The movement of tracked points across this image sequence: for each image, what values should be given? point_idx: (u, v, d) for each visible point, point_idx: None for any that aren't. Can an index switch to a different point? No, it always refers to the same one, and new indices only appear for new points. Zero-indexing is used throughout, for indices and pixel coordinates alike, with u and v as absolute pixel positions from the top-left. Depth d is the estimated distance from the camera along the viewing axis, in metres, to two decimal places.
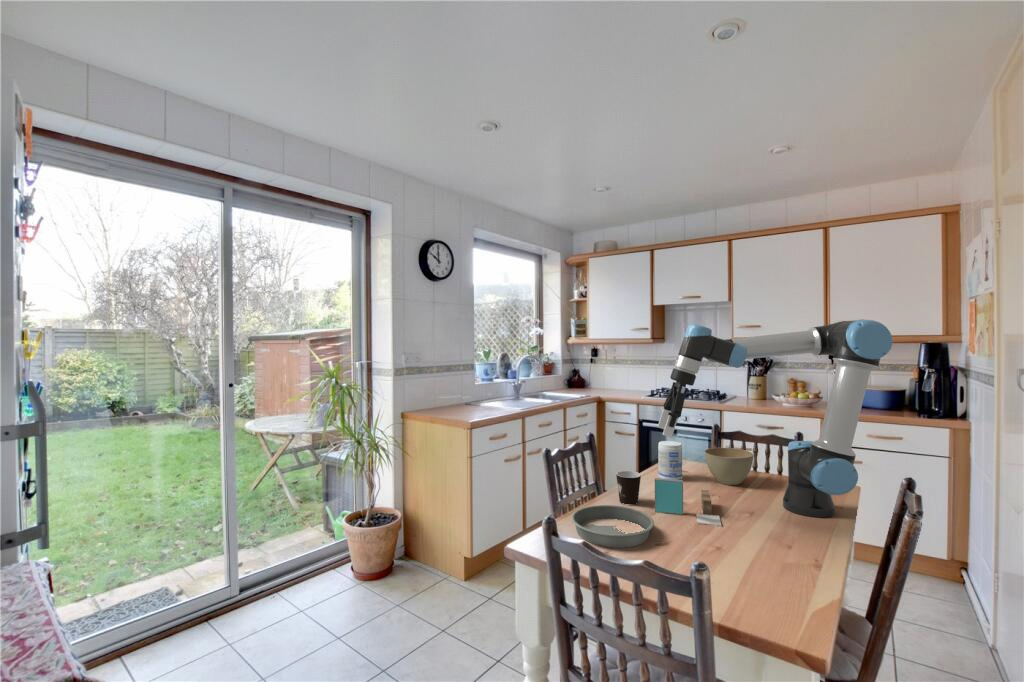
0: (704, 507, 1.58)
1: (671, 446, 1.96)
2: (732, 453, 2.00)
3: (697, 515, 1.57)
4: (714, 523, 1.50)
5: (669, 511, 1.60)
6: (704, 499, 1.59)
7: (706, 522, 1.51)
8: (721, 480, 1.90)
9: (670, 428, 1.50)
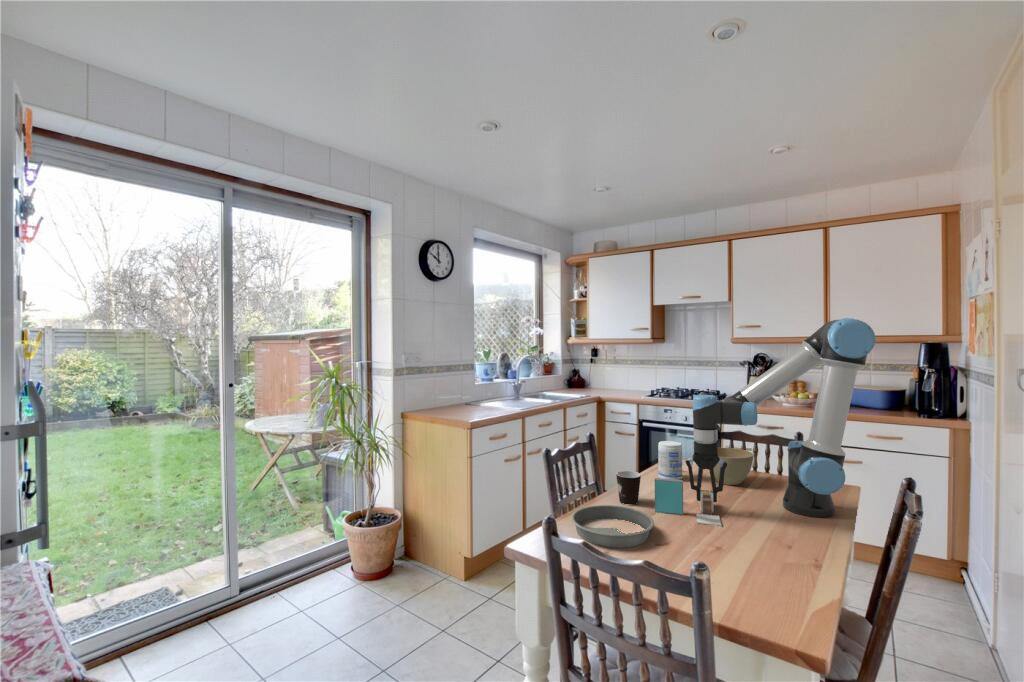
0: (704, 507, 1.58)
1: (671, 446, 1.96)
2: (732, 453, 2.00)
3: (697, 515, 1.57)
4: (714, 523, 1.50)
5: (669, 511, 1.60)
6: (704, 499, 1.59)
7: (706, 522, 1.51)
8: None
9: (700, 502, 1.62)
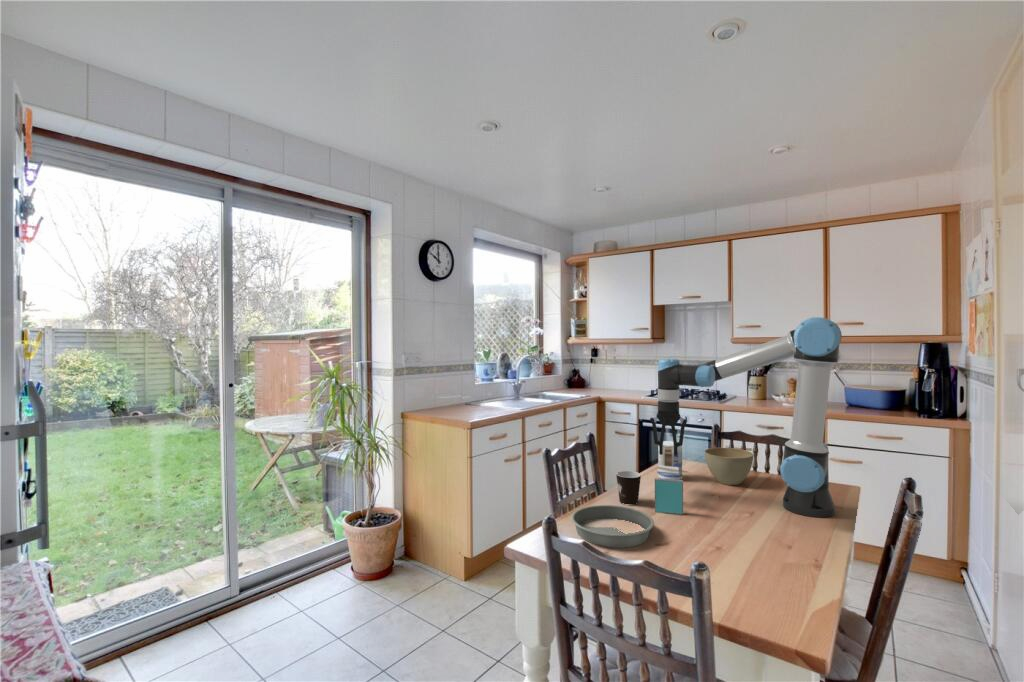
0: (665, 459, 1.74)
1: (671, 446, 1.96)
2: (732, 453, 2.00)
3: (659, 466, 1.73)
4: (672, 472, 1.66)
5: (669, 511, 1.60)
6: (666, 452, 1.75)
7: (665, 471, 1.67)
8: (721, 480, 1.90)
9: None
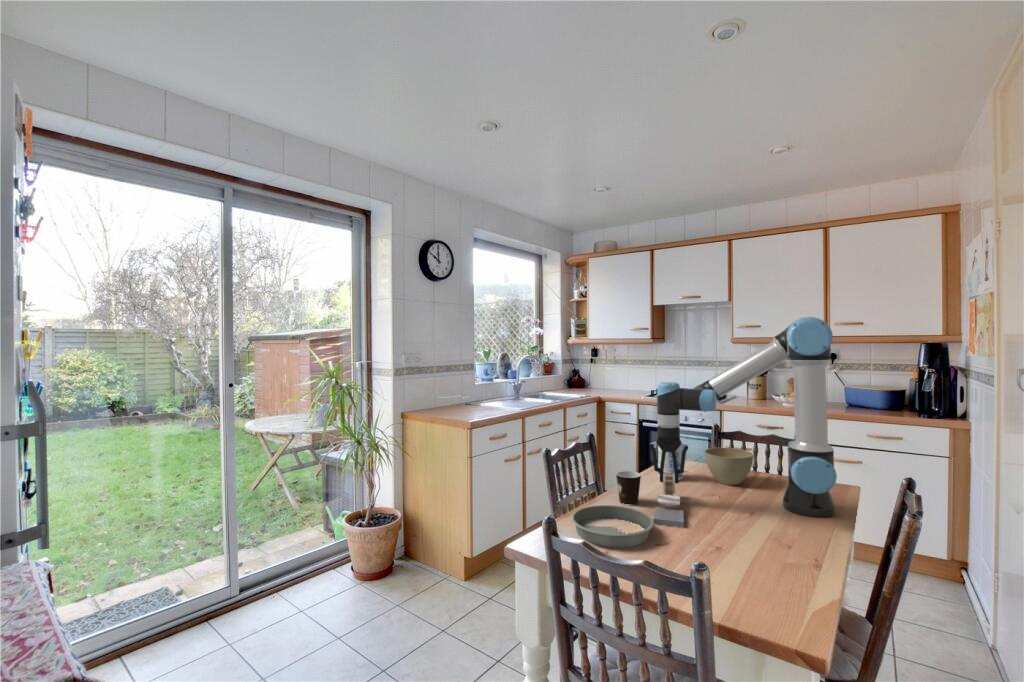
0: (666, 488, 1.67)
1: None
2: (732, 453, 2.00)
3: (659, 495, 1.66)
4: (673, 502, 1.59)
5: None
6: (666, 480, 1.68)
7: (666, 501, 1.60)
8: (721, 480, 1.90)
9: (663, 483, 1.71)
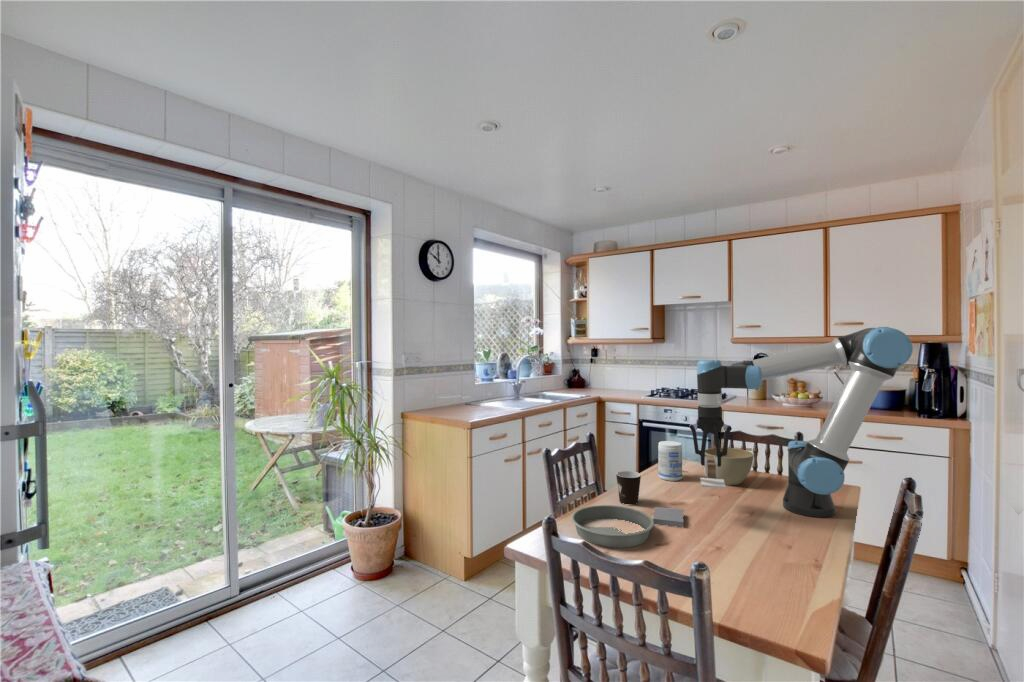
0: (708, 471, 1.57)
1: (671, 446, 1.96)
2: (732, 453, 2.00)
3: (702, 478, 1.57)
4: (718, 485, 1.50)
5: None
6: (708, 463, 1.59)
7: (710, 484, 1.51)
8: None
9: None
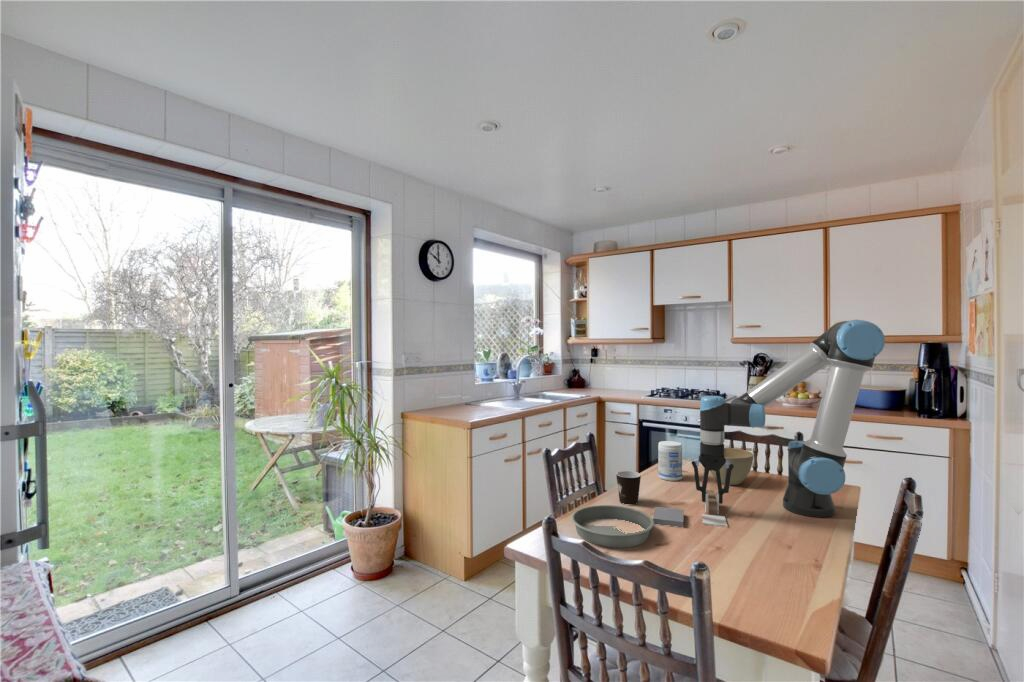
0: (710, 508, 1.57)
1: (671, 446, 1.96)
2: (732, 453, 2.00)
3: (703, 515, 1.56)
4: (720, 524, 1.49)
5: None
6: (710, 500, 1.58)
7: (712, 523, 1.50)
8: (721, 480, 1.90)
9: (705, 503, 1.61)
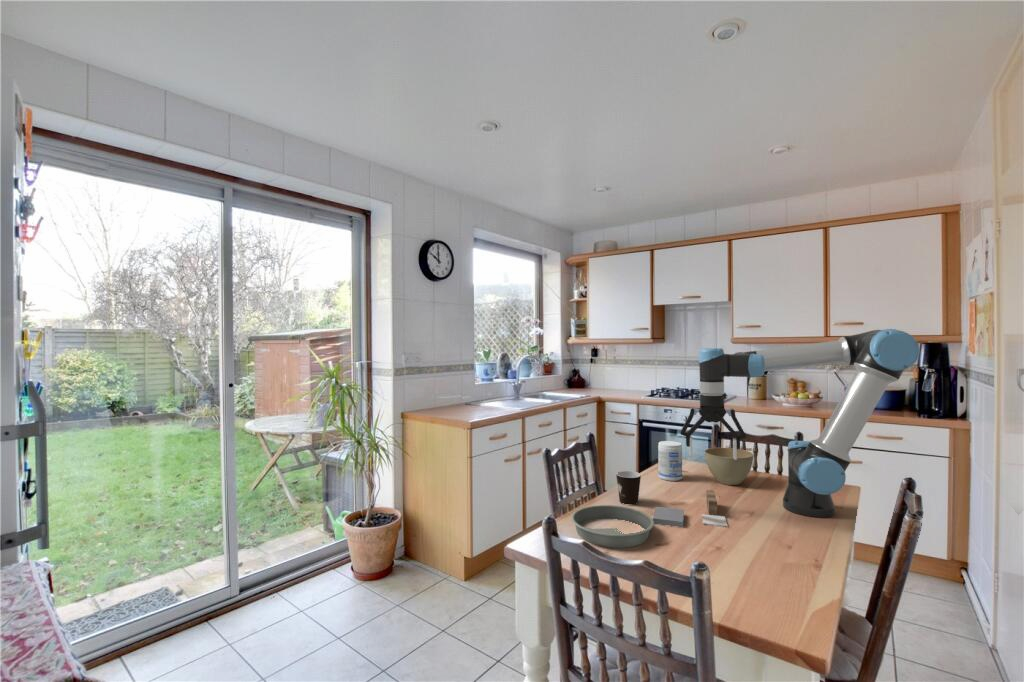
0: (710, 508, 1.57)
1: (671, 446, 1.96)
2: (732, 453, 2.00)
3: (703, 515, 1.56)
4: (720, 524, 1.49)
5: None
6: (710, 500, 1.58)
7: (712, 523, 1.50)
8: (721, 480, 1.90)
9: None
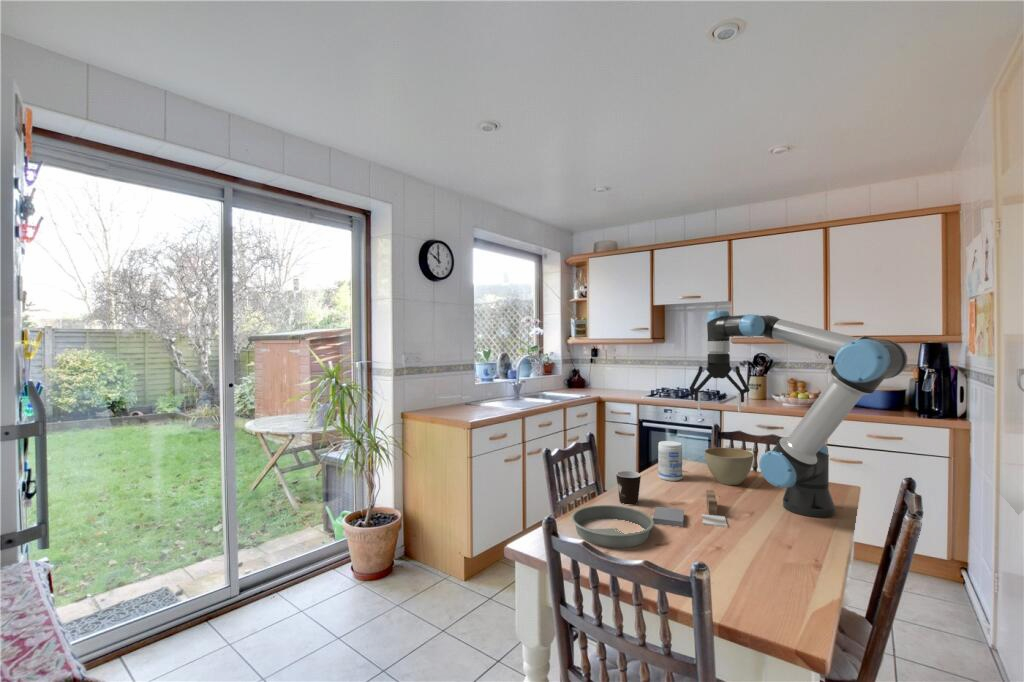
0: (710, 508, 1.57)
1: (671, 446, 1.96)
2: (732, 453, 2.00)
3: (703, 515, 1.56)
4: (720, 524, 1.49)
5: None
6: (710, 500, 1.58)
7: (712, 523, 1.50)
8: (721, 480, 1.90)
9: (698, 402, 1.78)
